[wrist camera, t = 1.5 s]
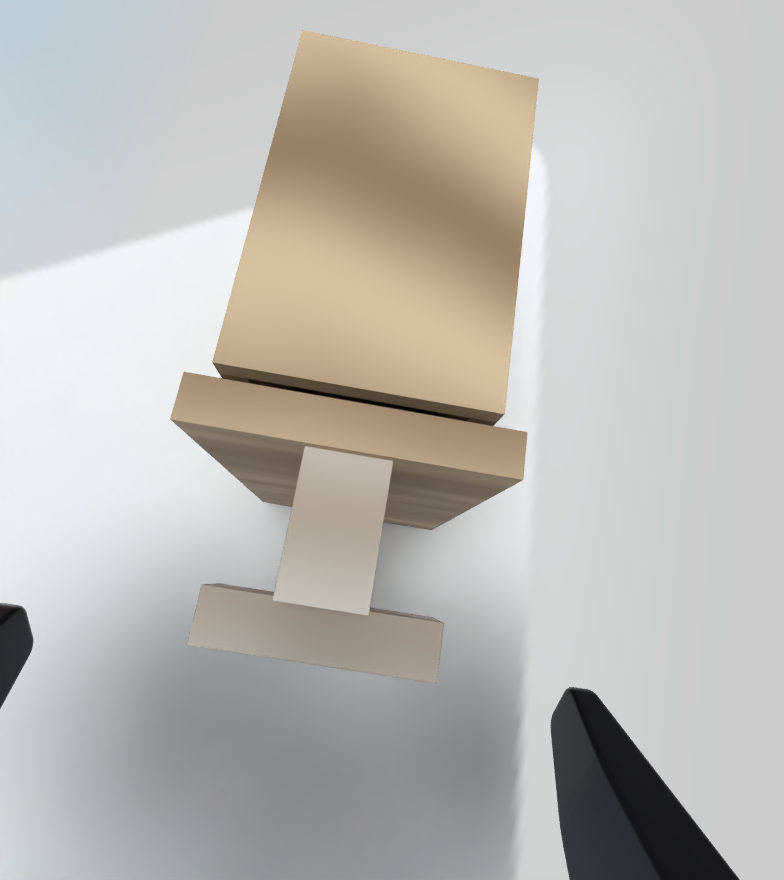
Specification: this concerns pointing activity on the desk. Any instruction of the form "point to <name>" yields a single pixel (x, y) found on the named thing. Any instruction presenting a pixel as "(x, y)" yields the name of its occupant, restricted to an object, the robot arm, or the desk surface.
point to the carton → (386, 234)
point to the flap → (337, 516)
